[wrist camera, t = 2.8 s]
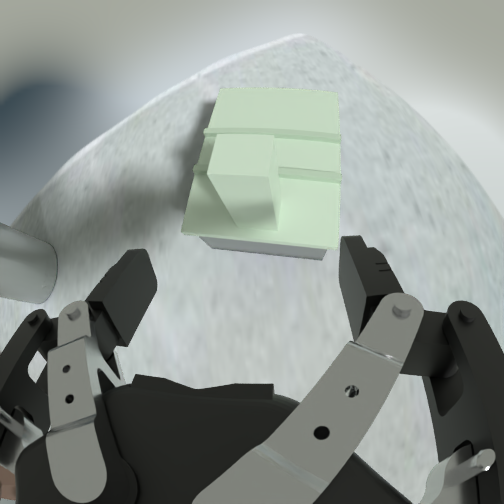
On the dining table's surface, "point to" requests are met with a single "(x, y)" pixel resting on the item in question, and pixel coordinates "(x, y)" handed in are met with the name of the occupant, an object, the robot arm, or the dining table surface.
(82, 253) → the dining table surface
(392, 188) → the dining table surface
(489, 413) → the robot arm
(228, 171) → the lid
